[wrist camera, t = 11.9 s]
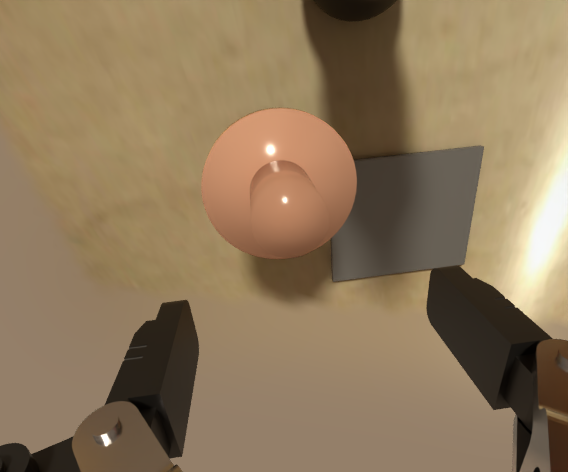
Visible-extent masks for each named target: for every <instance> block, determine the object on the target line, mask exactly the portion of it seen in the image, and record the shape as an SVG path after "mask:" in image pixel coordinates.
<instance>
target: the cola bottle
mask: <svg viewBox="0 0 568 472" xmlns="http://www.w3.org/2000/svg"><path fill="white" fill-rule="evenodd" d="M314 1H315V3H316V4H317V5H318V6H319V7H320V8H321V9H322V10H323V11H324V12H326V13H327V14H329V15H330V16H332V17H334V18H337V19H340V20H344V21H362V20H366V19H370V18H372V17H375V16H377V15H379V14H380V13H382V12H384V11H385V10H386V9H388V8H389V7H390V6H391V5H392V4H394V3H395V2H396V0H314Z"/></svg>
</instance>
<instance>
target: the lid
mask: <svg viewBox="0 0 568 472" xmlns="http://www.w3.org/2000/svg"><path fill="white" fill-rule="evenodd" d="M356 187H357V176H356V169H355V164H354V160H353V158H352V155H351V152H350V150H349V149H348V147H347V145H346V143H345V142H344V140H343V139H342V138H341V136H340V135H339V134H338V133H337V132H336V131H335V130H334V129H333V128H332V127H331V126H329V125H328V124H327V123H325V122H324V121H323V120H321V119H319V118H317V117H316V116H314V115H312V114H309V113H307V112H304V111H301V110H297V109H292V108H269V109H263V110H259V111H256V112H253V113H250V114H248V115H246V116H244V117H242V118H240V119H239V120H237V121H236V122H234V123H233V124H231V125H230V126H229V127H228V128H227V129H226V130H225V131H224V132H223V133H222V134H221V135H220V136H219V138H218V139H217V140H216V142H215V143H214V145H213V147H212V148H211V150H210V153H209V155H208V157H207V159H206V162H205V166H204V169H203V175H202V198H203V203H204V206H205V210H206V212H207V215H208V217H209V219H210V221H211V223H212V224H213V226H214V227H215V229H216V230H217V231H218V232H219V234H220V235H221V236H222V237H223V238H224V239H225V240H226V241H228V242H229V243H230V244H232V245H233V246H234V247H236V248H238V249H240V250H241V251H243V252H246V253H248V254H251V255H254V256H257V257H261V258H268V259H286V258H294V257H299V256H302V255H305V254H307V253H309V252H311V251H313V250H315V249H317V248H318V247H320V246H322V245H323V244H325V243H326V242H327V241H329V240H330V239H331V238H332V237H333V236H334V235H335V234H336V233H337V232H338V231H339V229H340V228H341V227H342V226H343V224H344V223H345V221H346V219H347V218H348V216H349V214H350V212H351V209H352V206H353V203H354V200H355V195H356Z"/></svg>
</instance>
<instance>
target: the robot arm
mask: <svg viewBox="0 0 568 472" xmlns="http://www.w3.org/2000/svg"><path fill="white" fill-rule="evenodd" d="M427 315H428V318H429V321H430V323H431V325H432V326H433V327H434V329H435V330H436V332H437V333H438V334H439V336H440V337H441V339H442V340H443V341H444V342H445V344H446V345H447V347H448V348H449V349H450V351H451V352H452V354H453V355H454V356H455V358H456V359H457V360H458V362H459V363H460V365H461V366H462V367H463V368H464V370H465V371H466V373H467V374H468V376H469V377H470V378H471V380H472V381H473V382H474V384H475V385H476V386H477V388H478V389H479V390H480V392H481V393H482V395H483V396H484V397H485V399H486V400H487V401H488V403H489V404H490V406H491V407H492V408H493V410H496V409H503V408H509V407H511V408H512V409H513V411H514V412H515V413H516V415H515V418H514V424H513V426H514V427H513V459H512V472H568V341H567V340H561V339H552V338H551V337H550V336H549V335H548V334H547V333H546V332H544V331H543V330H542V329H541V328H540V327H539V326H538V325H536V324H535V323H534V322H533V321H532V320H531V319H530V318H528V317H527V316H526V315H525V314H524V313H523V312H522V311H520V310H519V309H518V308H515V305H514V304H512V303H511V302H510V301H509V300H508V299H505V297H504V296H503V295H502V294H501V293H500V292H499V291H498V290H496V289H495V288H494V287H493V286H491V285H489V284H487V283H485V282H483V281H481V280H479V279H477V278H474V279H473V278H472V277H471V276H470V275H468V274H467V273H466V272H465V271H464V270H463V269H462V268H461V267H459V266H457V265H455V266H447V267H440V268H434V269H432V271H431V274H430V281H429V290H428V298H427ZM198 355H199V344H198V337H197V333H196V330H195V325H194V321H193V317H192V313H191V309H190V306H189V303H188V301H187V300H181V301H174V302H166V303H162V305H161V307H160V310H159V313H158V315H157V318H156V320H152V321H146V322H145V323H144V324H143V325H142V326H141V327H140V328H139V330H138V331H137V332H136V333H135V334H134V337H133V339H132V341H131V344H130V346H129V350H128V351H127V353H126V356H125V358H124V359H125V360H124V361H123V363H122V365H121V368H120V370H119V372H118V375H117V377H116V380H115V382H114V384H113V386H112V389H111V391H110V394H109V396H108V398H107V401H106V403H105V405H104V406H102V407H100V408H99V409H97V410H95V411H94V412H92V413H91V414H90V415H89V416H88V417H87V418H85V420H84V421H83V422H82V423H81V424H80V425H79V427H78V428H77V430H76V432H75V434H74V436H73V437H71V438H69V439H67V440H64V441H62V442H60V443H57V444H55V445H52V446H50V447H48V448H45V449H43V450H41V451H38V452H36V453H33V454H31V453H30V452H29V450H28V449H27V448H26V446H24V445H22V444H19V443H11V444H5V445H2V446H0V472H182V470H181V469H180V468H179V466H178V465H175V466H174V465H173V463H172V462H171V461H170V459H169V458H175V457H182V454H183V448H184V442H185V436H186V429H187V423H188V417H189V411H190V405H191V399H192V393H193V386H194V381H195V375H196V368H197V362H198Z"/></svg>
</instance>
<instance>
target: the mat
mask: <svg viewBox="0 0 568 472" xmlns="http://www.w3.org/2000/svg"><path fill="white" fill-rule="evenodd" d="M483 150H484V147H483V146H473V147H464V148H455V149H446V150H437V151H428V152H419V153H410V154H401V155H393V156H384V157H375V158H366V159H357V160H354V164H355V169H356V176H357V187H356V195H355V200H354V203H353V206H352V209H351V212H350V214H349V216H348V218H347V219H346V221H345V223H344V224H343V226H342V227H341V228H340V229H339V231H338V232H337V233H336V234H335V235H334V236H333V237H332V238H331V261H332V280H333V282H335V281H342V280H350V279H357V278H365V277H372V276H380V275H387V274H395V273H402V272H410V271H418V270H425V269H433V268H440V267H447V266H455V265H463V264H464V262H465V257H466V251H467V245H468V239H469V233H470V227H471V221H472V215H473V209H474V203H475V197H476V191H477V186H478V180H479V174H480V168H481V162H482V156H483Z"/></svg>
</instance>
